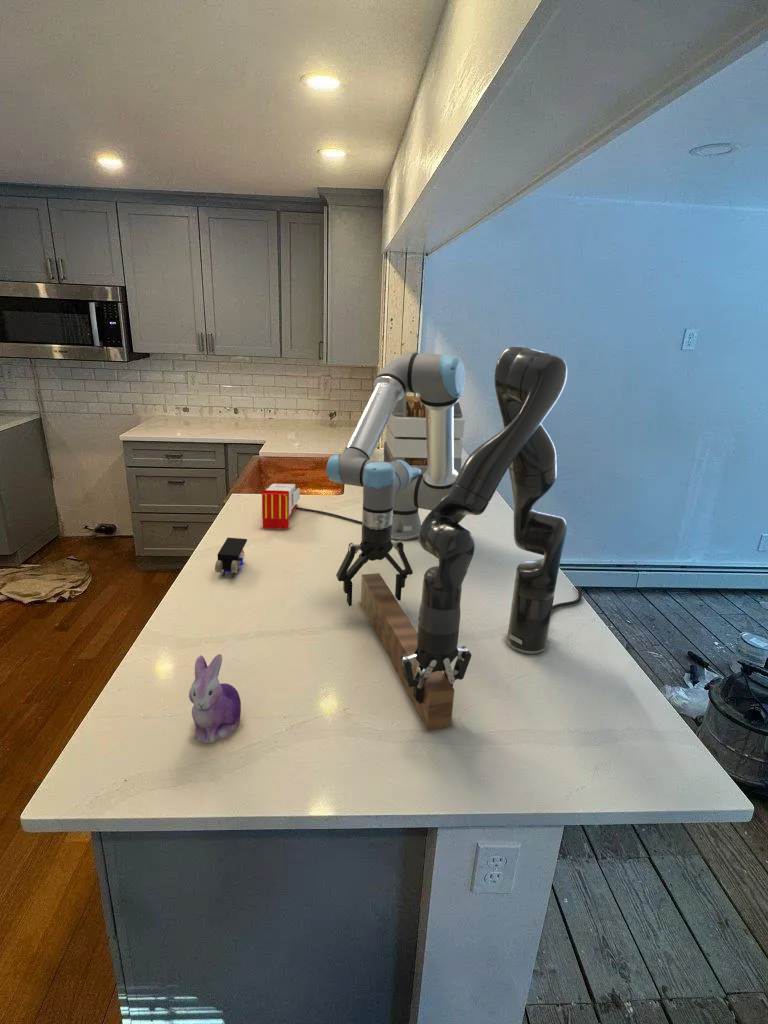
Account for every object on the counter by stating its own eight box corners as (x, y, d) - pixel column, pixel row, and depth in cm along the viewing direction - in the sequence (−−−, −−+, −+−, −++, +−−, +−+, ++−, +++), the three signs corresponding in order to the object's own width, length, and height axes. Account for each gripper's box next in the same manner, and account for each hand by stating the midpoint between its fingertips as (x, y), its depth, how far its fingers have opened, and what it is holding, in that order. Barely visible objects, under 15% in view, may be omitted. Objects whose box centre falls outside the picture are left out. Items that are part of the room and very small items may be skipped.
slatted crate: (382, 463, 289) (386, 382, 275) (445, 464, 293) (451, 384, 279) (390, 482, 257) (394, 392, 243) (460, 483, 261) (468, 394, 247)
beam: (360, 602, 152) (361, 574, 149) (378, 601, 154) (379, 572, 151) (426, 730, 107) (429, 693, 104) (450, 726, 108) (454, 689, 106)
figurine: (196, 753, 99) (190, 681, 94) (186, 717, 107) (180, 649, 102) (250, 737, 103) (246, 667, 98) (236, 703, 112) (232, 637, 107)
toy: (301, 479, 224) (291, 492, 194) (301, 512, 226) (291, 530, 197) (270, 478, 223) (256, 491, 194) (271, 511, 226) (256, 529, 197)
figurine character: (238, 584, 162) (249, 557, 175) (236, 562, 158) (247, 536, 172) (215, 584, 161) (227, 556, 175) (212, 561, 158) (225, 535, 171)
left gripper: (331, 533, 134) (330, 613, 142) (428, 526, 141) (422, 602, 149) (325, 522, 141) (324, 598, 148) (418, 516, 148) (413, 589, 155)
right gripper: (408, 638, 99) (403, 717, 105) (483, 628, 103) (474, 705, 109) (395, 616, 106) (391, 692, 112) (466, 608, 110) (458, 681, 116)
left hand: (373, 601), depth 148 cm, fingers open, 12 cm apart
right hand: (432, 698), depth 110 cm, fingers closed on beam, 5 cm apart
